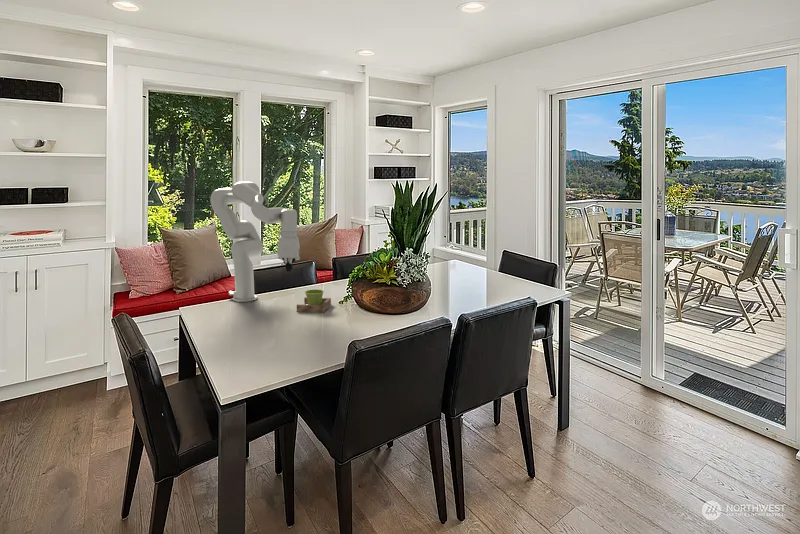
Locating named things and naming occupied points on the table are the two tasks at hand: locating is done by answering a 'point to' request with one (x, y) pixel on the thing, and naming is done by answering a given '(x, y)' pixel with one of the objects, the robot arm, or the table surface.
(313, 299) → the plant pot
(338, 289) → the table surface
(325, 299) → the walnut collar
